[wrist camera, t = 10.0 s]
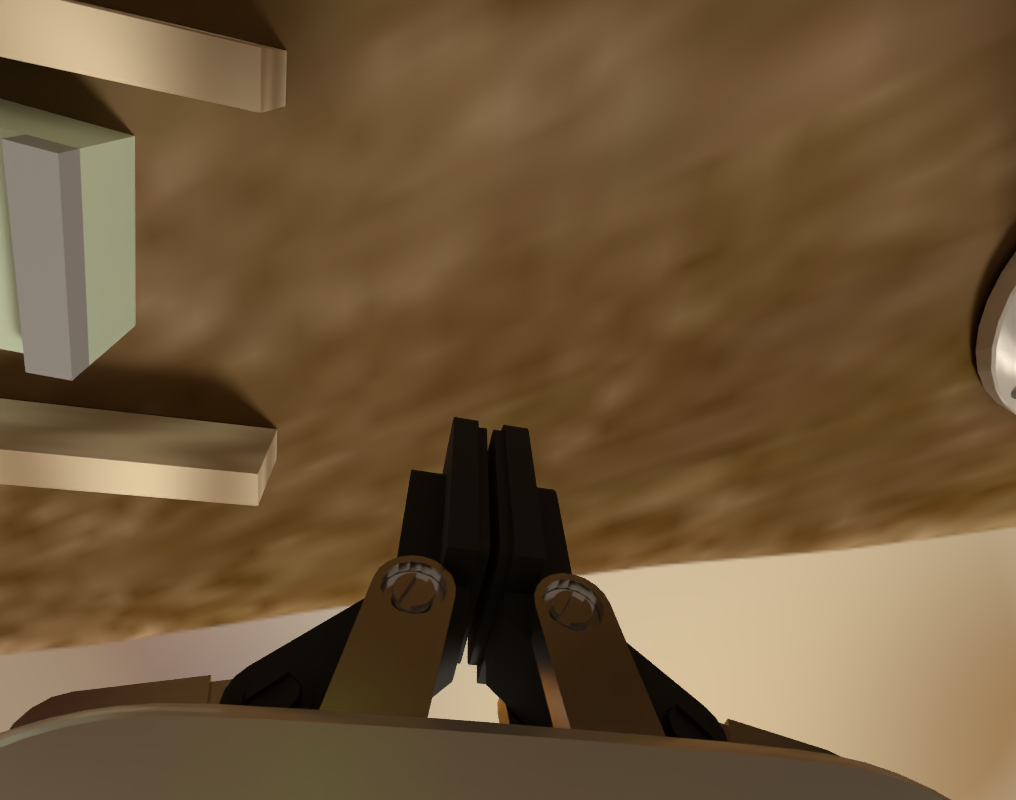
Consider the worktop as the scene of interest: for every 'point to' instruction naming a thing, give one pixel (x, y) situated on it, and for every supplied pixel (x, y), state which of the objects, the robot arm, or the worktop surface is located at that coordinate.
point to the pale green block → (64, 239)
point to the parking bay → (120, 435)
